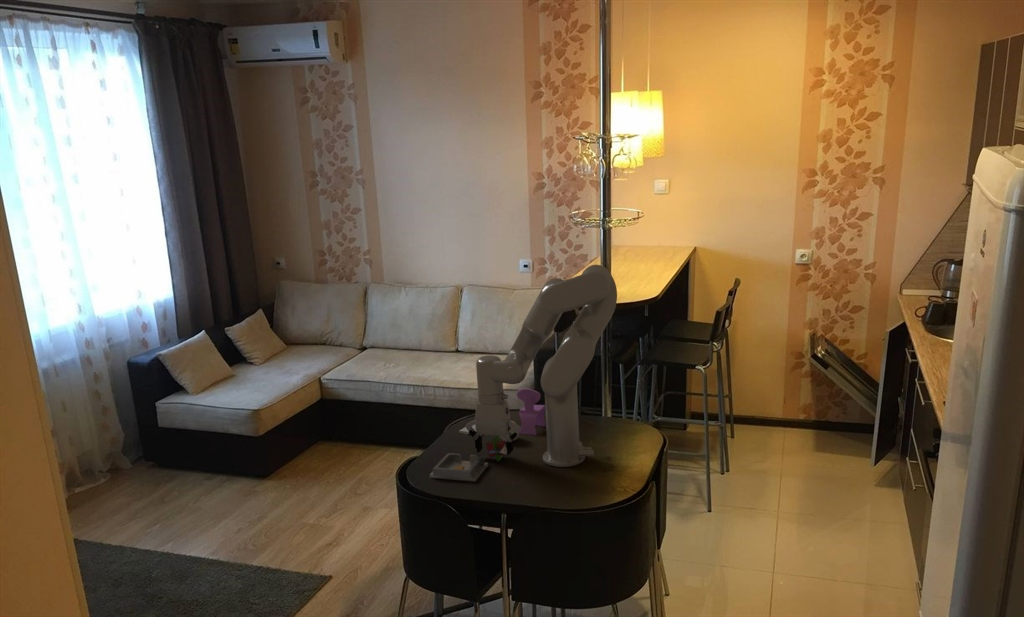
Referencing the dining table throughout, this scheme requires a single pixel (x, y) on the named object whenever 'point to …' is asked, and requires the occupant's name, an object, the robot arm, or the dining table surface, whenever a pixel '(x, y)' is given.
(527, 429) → the toy chair
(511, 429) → the baseball
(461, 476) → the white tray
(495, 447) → the geometric puzzle
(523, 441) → the dining table surface
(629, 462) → the dining table surface
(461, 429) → the external hard drive
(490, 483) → the dining table surface
